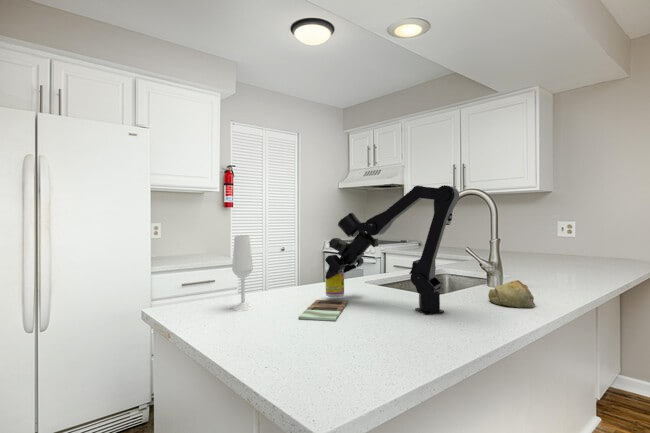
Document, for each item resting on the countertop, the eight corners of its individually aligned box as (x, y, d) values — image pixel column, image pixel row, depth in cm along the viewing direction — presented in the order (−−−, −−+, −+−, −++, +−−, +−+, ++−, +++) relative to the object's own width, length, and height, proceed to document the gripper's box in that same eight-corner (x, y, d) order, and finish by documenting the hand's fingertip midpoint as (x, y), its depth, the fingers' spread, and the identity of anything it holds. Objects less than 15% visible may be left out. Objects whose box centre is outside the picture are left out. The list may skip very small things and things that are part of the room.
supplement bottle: (344, 297, 128) (343, 260, 128) (325, 298, 129) (324, 261, 128) (344, 293, 135) (343, 258, 135) (326, 293, 135) (325, 258, 135)
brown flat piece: (316, 302, 129) (316, 299, 129) (347, 303, 126) (347, 300, 126) (298, 319, 108) (298, 316, 108) (335, 321, 105) (335, 318, 105)
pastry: (544, 306, 119) (543, 282, 119) (516, 311, 114) (515, 285, 114) (507, 297, 132) (507, 275, 132) (480, 301, 127) (480, 278, 127)
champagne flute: (228, 310, 119) (227, 236, 119) (238, 305, 126) (237, 234, 126) (248, 311, 118) (246, 236, 118) (256, 305, 124) (255, 234, 124)
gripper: (355, 229, 138) (330, 257, 143) (329, 231, 122) (302, 263, 128) (375, 250, 133) (349, 279, 139) (351, 256, 118) (322, 287, 123)
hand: (331, 276), depth 133 cm, fingers closed on supplement bottle, 7 cm apart
